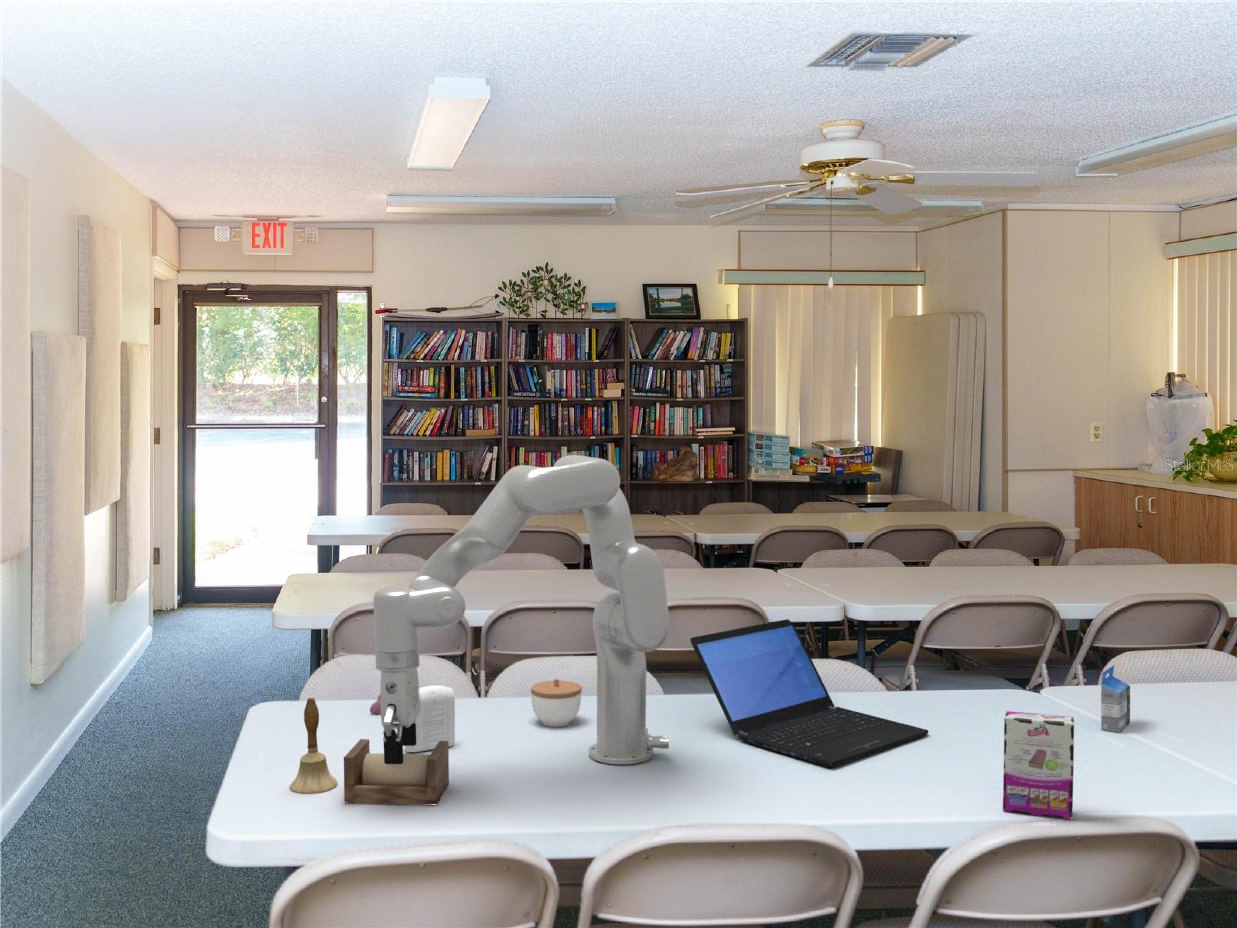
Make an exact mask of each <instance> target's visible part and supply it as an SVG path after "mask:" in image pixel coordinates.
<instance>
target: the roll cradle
mask: <svg viewBox="0 0 1237 928" xmlns="http://www.w3.org/2000/svg"><path fill="white" fill-rule="evenodd" d="M449 748H450V746H449V741H439V743H438V744H437V745H436V747H435V748H434V749H432V751H431V753H430V756H429V757H428V759H427V787H417V786H374V785H363V780H362V771H363V763H364V759H365V756H366V754H367V753H370V739H369V738H367V739H366V738H360V739H359V740H358V741H357V743H356V744H355V745H354V746H353V747H352V748H351V749H350V750H349V751H348V752H347V753H346V754H345V756H344V757H343V793H344V795H343V797H344V799H343V800H344V802H345V803H344V802H343V803H344V804H358V803H363V805H364V803H365V804H366V805H368V804H370V805H398V804H437V803H438V804H439V802H440V800H441V799H442V797H443V795H444V794H443V793H445V792H446V791H447V789H446V788H448V787H449V785H450V781H449V780H450V774H449V773H450V768H449V766H450V765H449V763H450V762H449V761H450V759H449V756H450V755H449V752H450V751H449ZM447 786H448V787H447ZM444 791H445V792H444ZM442 794H443V795H442ZM441 796H442V797H441ZM440 798H441V799H440ZM438 801H439V802H438ZM346 802H347V803H346ZM385 803H386V804H385ZM438 804H437V805H438Z"/></svg>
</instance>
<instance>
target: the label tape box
mask: <svg viewBox="0 0 1237 928" xmlns="http://www.w3.org/2000/svg"><path fill="white" fill-rule="evenodd" d="M1115 666H1116V665H1111V666H1110V667H1109V668H1107V669H1105V670H1104V671H1103V672H1102V673H1101V680H1100V689H1101V691H1100V693H1101V694H1100V703H1101V704H1100V709H1101V710H1100V715H1101V716H1100V719H1101V720H1100V722H1101V723H1100V724H1101V725H1100V727H1101V728H1100V729H1101V731H1104V732H1109V733H1118V734H1121V733H1122V731H1124V729H1126V728H1127V726H1128V725H1129V724H1131V686H1130V684H1128V683H1126V682H1124V681H1123V680H1121V679H1119V678H1117V677H1115V676H1114V675H1113V674H1114V671H1115ZM1107 675H1108V676H1107ZM1106 676H1107V677H1106Z"/></svg>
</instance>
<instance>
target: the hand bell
mask: <svg viewBox="0 0 1237 928" xmlns="http://www.w3.org/2000/svg"><path fill="white" fill-rule="evenodd" d="M306 699H307V700H306V704H305V707H304V710H303V711H304V713H303V719H304V725H305V729H306V732H307V753H305V754H303V755H302V756H301V757H300V758H299V759H300V761H299V768H298V772H297V774H296V777H295V778H294V779H293V780H292V782H291V783H290V784H289V789H290V791H292V792H293V793H295V794H296V793H297V794H302V795H303V794H304V795H312V794H313V795H314V794H315V793H316V794H321V793H326V792H329V791H331V790H333V789H335V788H336V787H337V786H338V781H337V779H336V778H335V777H334V776H333V775H332V774H331V773H330V770H329V767H328V763H327V756H326V755H325V754H324V753H321V752H320V751H319V748H318V736H317V732H318V727H319V722H320V713H319V712H320V711H319V708H318V705H317V703H316V699H315V698H314V697H308V698H306Z"/></svg>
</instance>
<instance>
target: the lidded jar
mask: <svg viewBox="0 0 1237 928" xmlns="http://www.w3.org/2000/svg"><path fill="white" fill-rule="evenodd" d="M582 691H583V687H582V685H580V684H579V683H577V682H574V681H567V680H559V678H554V679H553V680H548V681H547V680H546V681H545V680H544V681H541V682H537V683H535V684H533V685H531V687H530V693H531V705H532V708H533V709H532V710H533V712H534V714H535V716H536V717H537V718H538V720H539V721H541V723H542V725H543V726H546V727H553V728H554V727H555V728H556V727H557V728H558V727H566V726H569V725H570V724H571V722H572V721H573V720H574V719H575V718H576V717H577V716H578V713H579V712H580V708H581V702H582Z"/></svg>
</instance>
